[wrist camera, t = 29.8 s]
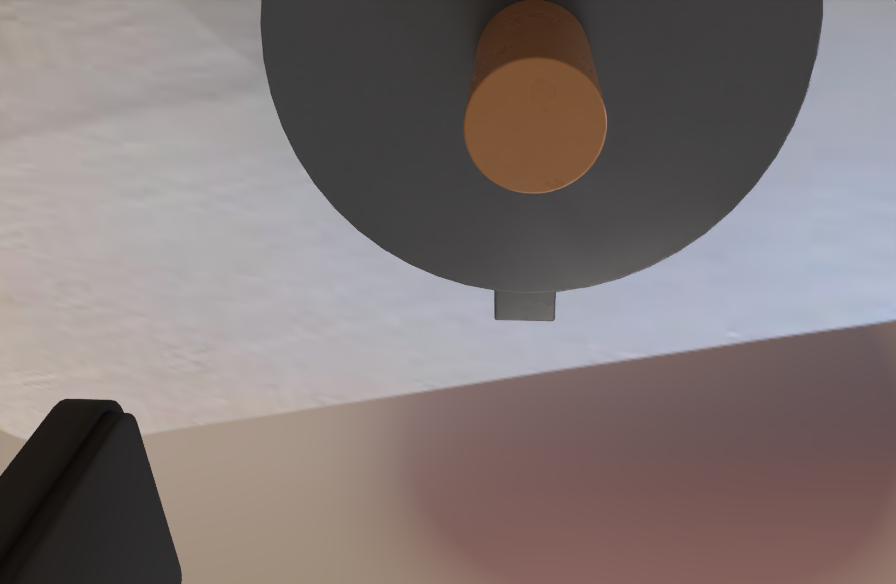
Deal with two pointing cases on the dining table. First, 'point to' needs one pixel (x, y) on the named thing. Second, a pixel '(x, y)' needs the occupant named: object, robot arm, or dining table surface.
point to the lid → (537, 124)
